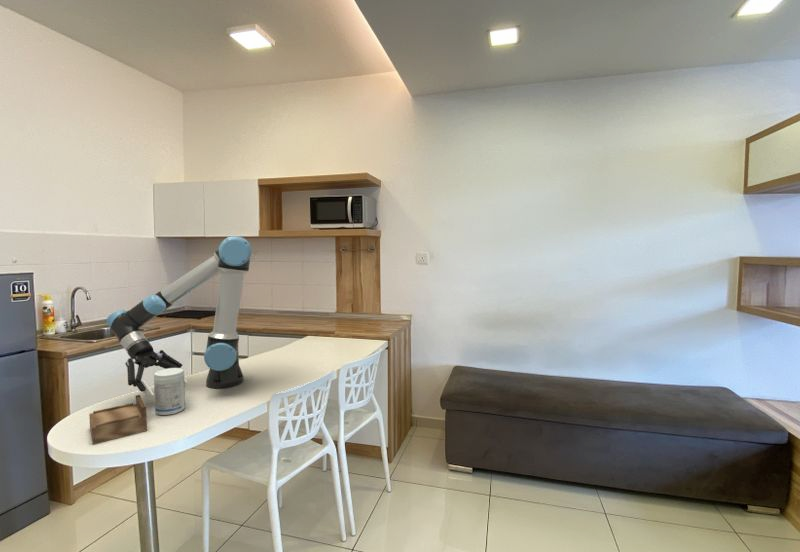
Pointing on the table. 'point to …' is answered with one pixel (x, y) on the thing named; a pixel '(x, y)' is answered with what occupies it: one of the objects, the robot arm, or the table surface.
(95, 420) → the shelf
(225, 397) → the table surface
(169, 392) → the supplement tub
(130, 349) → the robot arm
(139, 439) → the table surface
